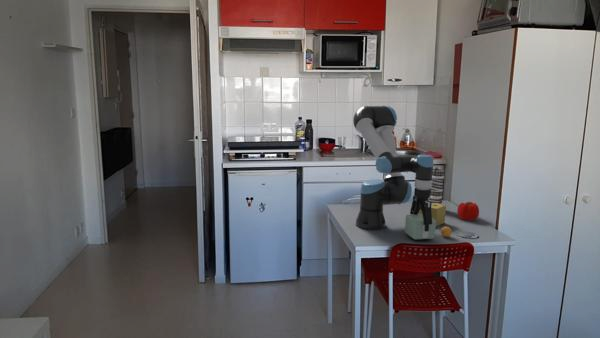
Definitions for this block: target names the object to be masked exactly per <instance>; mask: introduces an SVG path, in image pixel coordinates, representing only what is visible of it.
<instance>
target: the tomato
mask: <svg viewBox="0 0 600 338" xmlns="http://www.w3.org/2000/svg"><path fill="white" fill-rule="evenodd" d="M456 213H457V215H458V217H459V218H460V219H461V220H463V221H473V220H477V219H478V218H479V215H480V208H479V206H478V204H477V203H475V202H471V201H466V202H465V203H464V202H461V203H459V204H458V207H457V212H456Z"/></svg>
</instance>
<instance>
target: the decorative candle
mask: <svg viewBox="0 0 600 338" xmlns="http://www.w3.org/2000/svg"><path fill="white" fill-rule="evenodd" d="M445 181H446V180H445V170H444V168H443V167H441V166H433V175H432V186H431V188H430V189H431V197H429V198H428V202H429V203H438V204H443V191H444V186H445V185H444V183H445Z"/></svg>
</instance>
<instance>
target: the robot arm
mask: <svg viewBox="0 0 600 338" xmlns="http://www.w3.org/2000/svg"><path fill="white" fill-rule="evenodd" d="M352 119H353V120H352V121H353V126H354V129H355V130H356V131H357V133H359V134H361V137H362V138H363V139H364V141H365V143H366V144H367V147H368V148H369V149H370V151H371V153H372V154H373V156H374V157H375V159H376V161H375V167H376V171H377V172H378V173H380V174H383V176H384V177H383V178H382V179H380V178H376V179H375V178H373V179H372V178H371V179H367V180H364V181H363V182H362V183H361V185H360V199H359V200H360V201H359V202H360V203H359V212H358V213H357V216H356V219H355V225H356V226H357V227H359V228H360V229H363V230H372V231H373V230H374V231H376V230H377V231H378V230H383V229H385V228H386V226H387V225H386V219H385V214H384V206H385V205H386V206H387V205H388V206H389V205H401V204H406V203H408V202H409V201H410V199H411V197H412V202H411V206H410V210H409V215H411V214H419V211H420V209H421V211H422V215H423V220H424V223H423V230H422V238H428V232H429V225H430V224H432V212H431V205H432V203H429V202H428V198H429V197H431V189H430V188H431V186H432V175H433V167H435V166H434V165H435V164H434V156H433V155H430V154H418V155H417V156H415V155H412V154H405V155H403V156H401V155H400V156H398V153H397V150H396V149H397V148H396V143H395V139H394V134H393V131H394V130H395V127H396V125H397V120H398V116H397V113H396V110H395V109H394V108H393V107H391V106H389V105H388V106H387V105H380V106H379V105H372V106H371V105H365V106H361V107H359V109H357V110H356V111H355V113H354V115H353V118H352ZM409 172H410V173H413V174H415V178H414V191H413V189H412V188H413V187H412V184H411V183H410V181H408V180H406V178H405V176H404V175H403V174H402V173H409ZM413 192H414V193H413ZM412 193H413V194H414V195H413V196H412Z"/></svg>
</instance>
